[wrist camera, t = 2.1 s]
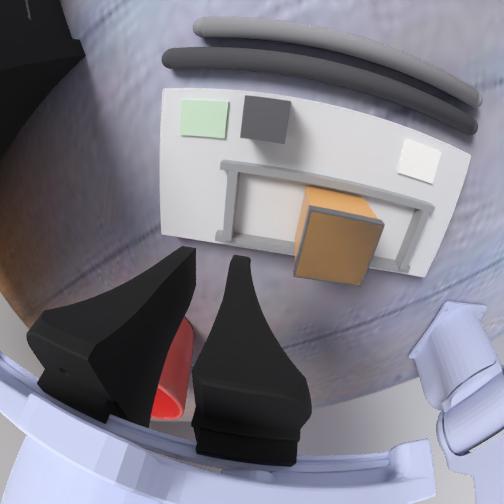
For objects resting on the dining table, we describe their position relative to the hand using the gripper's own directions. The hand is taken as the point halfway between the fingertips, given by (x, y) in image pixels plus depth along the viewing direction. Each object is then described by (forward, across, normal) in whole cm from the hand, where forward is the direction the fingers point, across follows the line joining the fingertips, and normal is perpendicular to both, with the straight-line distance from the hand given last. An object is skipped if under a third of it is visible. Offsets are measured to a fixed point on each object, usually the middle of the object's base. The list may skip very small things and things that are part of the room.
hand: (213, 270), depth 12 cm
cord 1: (+10, -6, -12) cm, 17 cm away
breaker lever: (+8, -6, 0) cm, 10 cm away
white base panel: (+10, -5, -2) cm, 11 cm away
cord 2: (+10, -5, -10) cm, 15 cm away
